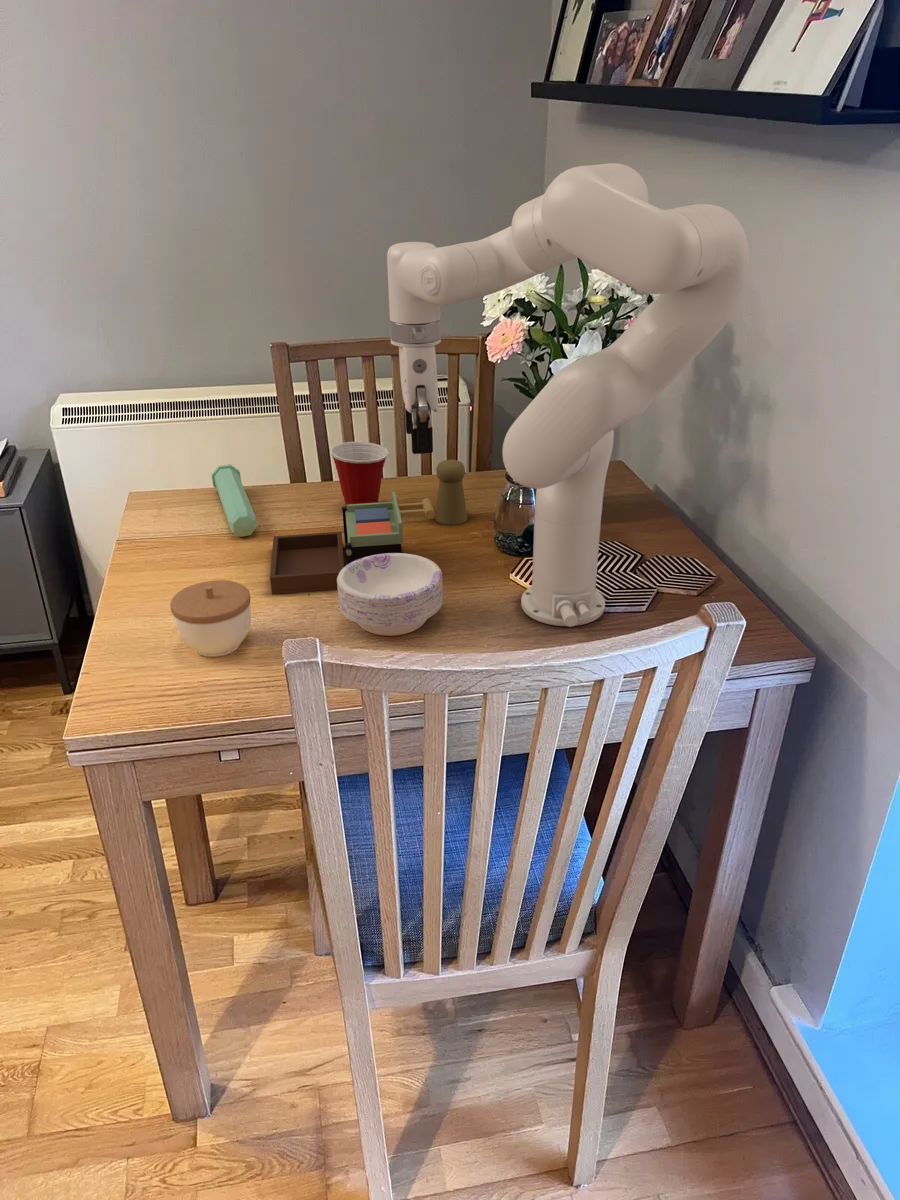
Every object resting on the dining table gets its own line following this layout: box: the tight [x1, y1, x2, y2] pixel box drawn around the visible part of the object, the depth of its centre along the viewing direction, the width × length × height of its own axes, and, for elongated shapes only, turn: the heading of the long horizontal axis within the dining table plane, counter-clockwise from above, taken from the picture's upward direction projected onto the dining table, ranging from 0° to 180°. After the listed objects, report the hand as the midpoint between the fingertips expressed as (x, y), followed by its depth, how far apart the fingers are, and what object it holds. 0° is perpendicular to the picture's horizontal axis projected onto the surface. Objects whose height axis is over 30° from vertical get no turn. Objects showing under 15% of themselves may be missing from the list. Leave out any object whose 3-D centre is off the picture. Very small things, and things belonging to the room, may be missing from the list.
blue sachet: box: [355, 507, 390, 523], centre depth 144 cm, size 5×6×1 cm
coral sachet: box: [356, 521, 392, 535], centre depth 139 cm, size 5×6×1 cm
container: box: [211, 463, 258, 538], centre depth 164 cm, size 6×6×25 cm
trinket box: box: [169, 579, 252, 658], centre depth 121 cm, size 11×11×9 cm
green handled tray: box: [345, 491, 436, 547], centre depth 142 cm, size 13×14×4 cm
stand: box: [341, 506, 402, 565], centre depth 144 cm, size 17×9×8 cm, turn 8°
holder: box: [269, 531, 345, 595], centre depth 143 cm, size 16×12×3 cm
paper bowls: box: [337, 552, 444, 637], centre depth 127 cm, size 15×15×8 cm
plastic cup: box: [329, 441, 390, 507], centre depth 163 cm, size 11×11×12 cm
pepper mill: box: [434, 459, 468, 526], centre depth 159 cm, size 6×6×11 cm
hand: (419, 442), depth 138 cm, fingers open, 9 cm apart
